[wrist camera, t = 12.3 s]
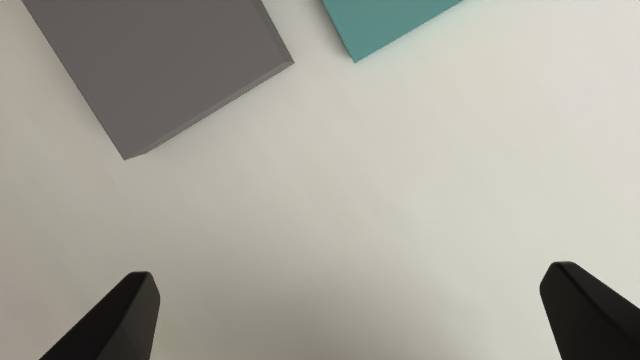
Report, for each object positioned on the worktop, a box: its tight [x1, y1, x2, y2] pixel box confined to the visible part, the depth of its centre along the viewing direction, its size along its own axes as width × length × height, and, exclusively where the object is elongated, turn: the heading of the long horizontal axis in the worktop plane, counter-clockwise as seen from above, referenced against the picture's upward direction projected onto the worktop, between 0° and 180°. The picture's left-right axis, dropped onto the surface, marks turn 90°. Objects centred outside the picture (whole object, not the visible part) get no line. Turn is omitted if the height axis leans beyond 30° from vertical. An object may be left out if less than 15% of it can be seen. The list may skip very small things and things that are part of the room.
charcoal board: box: [22, 0, 294, 160], centre depth 19 cm, size 10×10×2 cm
